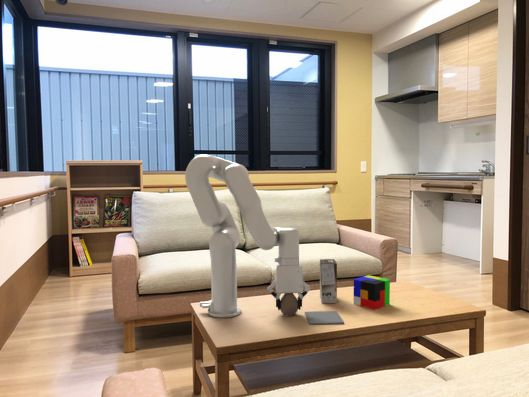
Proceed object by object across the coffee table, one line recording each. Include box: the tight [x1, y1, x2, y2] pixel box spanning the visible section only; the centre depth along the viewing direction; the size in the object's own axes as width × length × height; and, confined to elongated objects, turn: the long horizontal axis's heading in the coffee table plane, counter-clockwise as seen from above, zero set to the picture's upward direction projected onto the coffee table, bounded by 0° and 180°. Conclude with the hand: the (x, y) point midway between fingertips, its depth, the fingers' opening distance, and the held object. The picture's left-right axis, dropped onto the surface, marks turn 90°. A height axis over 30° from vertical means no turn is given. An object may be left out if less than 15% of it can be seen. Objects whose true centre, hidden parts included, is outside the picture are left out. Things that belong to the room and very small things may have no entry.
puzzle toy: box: [353, 275, 391, 311], centre depth 167 cm, size 10×10×10 cm
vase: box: [279, 293, 299, 317], centre depth 156 cm, size 7×7×9 cm
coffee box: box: [319, 258, 338, 304], centre depth 173 cm, size 9×6×16 cm
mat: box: [304, 310, 345, 326], centre depth 151 cm, size 12×12×1 cm
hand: (289, 308), depth 156 cm, fingers closed on vase, 6 cm apart
